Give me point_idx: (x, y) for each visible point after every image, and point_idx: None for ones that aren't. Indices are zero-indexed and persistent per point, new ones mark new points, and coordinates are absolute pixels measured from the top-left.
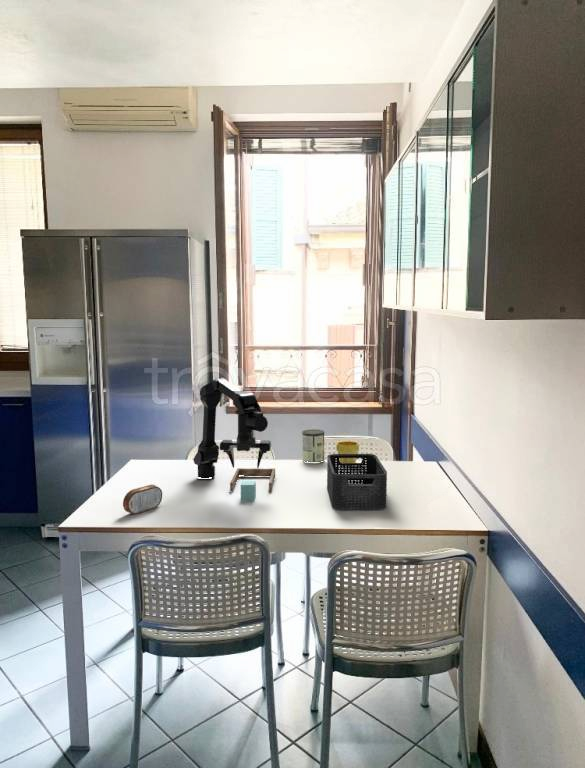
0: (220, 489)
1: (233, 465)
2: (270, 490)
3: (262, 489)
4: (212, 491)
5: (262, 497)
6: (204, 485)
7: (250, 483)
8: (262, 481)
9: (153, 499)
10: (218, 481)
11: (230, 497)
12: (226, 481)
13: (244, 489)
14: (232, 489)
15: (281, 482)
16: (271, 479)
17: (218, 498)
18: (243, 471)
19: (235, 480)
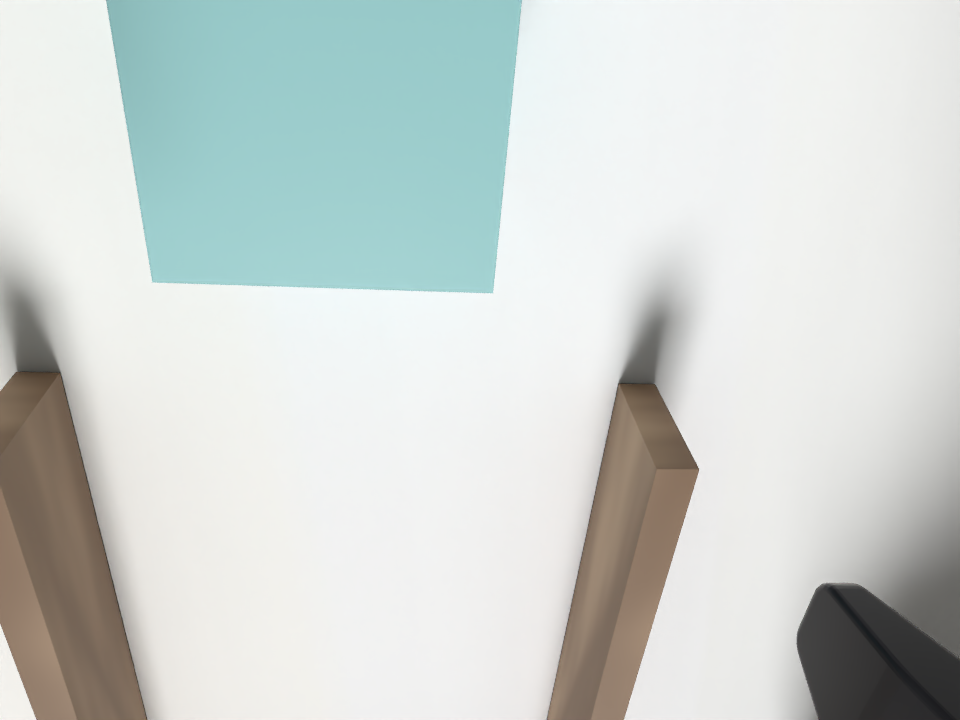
0: (773, 468)
1: (879, 635)
2: (23, 384)
3: (196, 475)
4: (890, 397)
5: (93, 98)
6: (932, 586)
7: (249, 67)
8: (261, 714)
9: None
10: (757, 692)
11: (669, 121)
12: (672, 696)
13: None
14: (631, 401)
15: (10, 699)
16: (19, 627)
17: (872, 74)
18: None
19: (589, 645)
